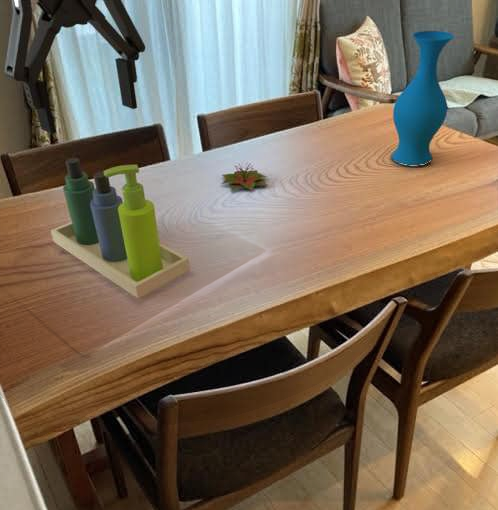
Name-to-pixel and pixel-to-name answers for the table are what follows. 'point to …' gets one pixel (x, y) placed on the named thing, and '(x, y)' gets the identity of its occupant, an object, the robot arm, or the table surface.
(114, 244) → the smoky-blue bottle
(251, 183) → the lily flower
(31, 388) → the table surface
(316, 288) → the table surface
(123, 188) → the soap dispenser
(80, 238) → the green bottle
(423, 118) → the vase
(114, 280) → the tray
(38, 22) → the robot arm
